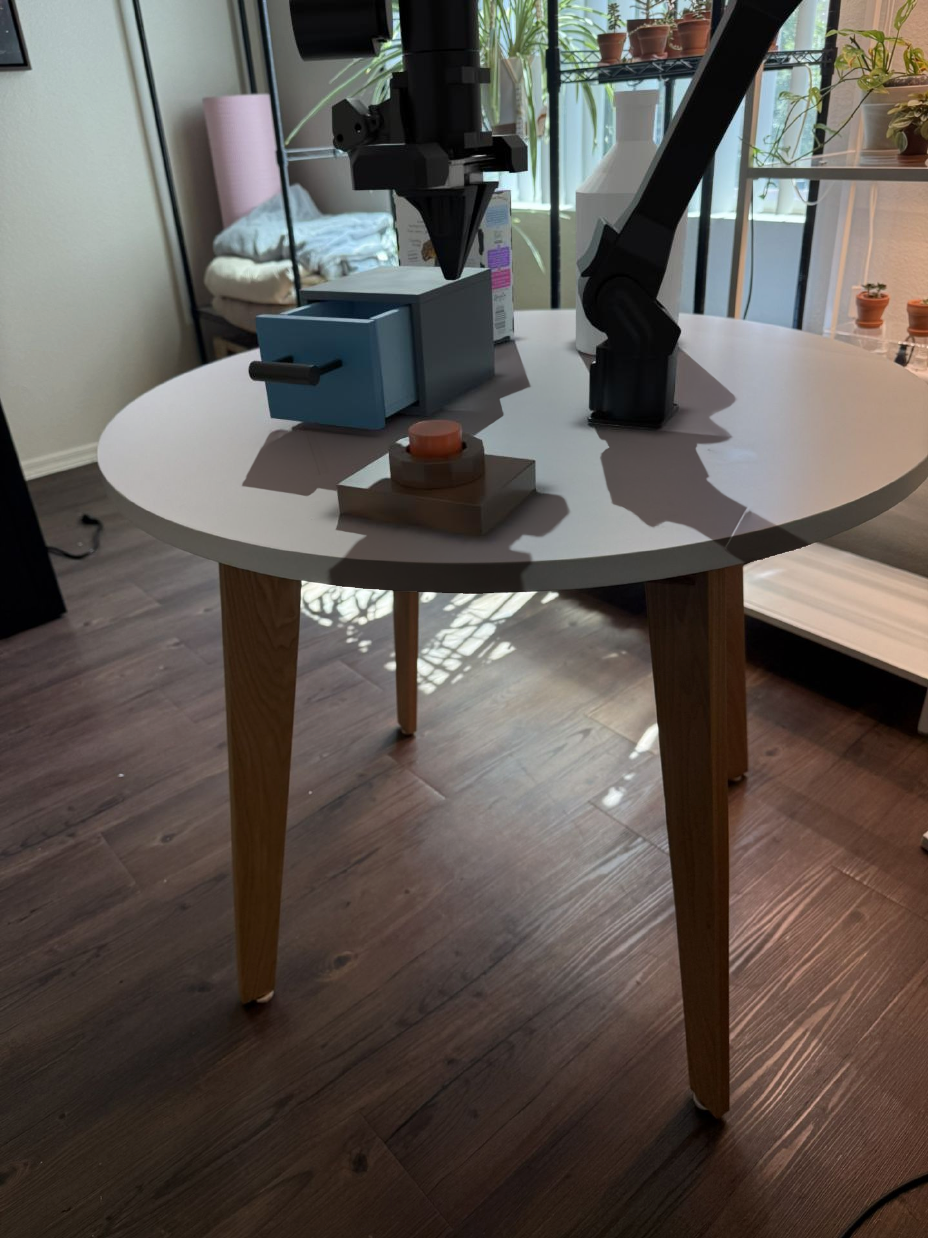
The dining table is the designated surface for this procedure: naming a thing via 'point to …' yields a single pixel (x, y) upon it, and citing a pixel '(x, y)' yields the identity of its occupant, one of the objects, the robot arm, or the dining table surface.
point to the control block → (439, 488)
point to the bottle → (624, 200)
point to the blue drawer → (338, 362)
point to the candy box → (485, 253)
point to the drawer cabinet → (431, 324)
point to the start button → (435, 438)
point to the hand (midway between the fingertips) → (452, 279)
